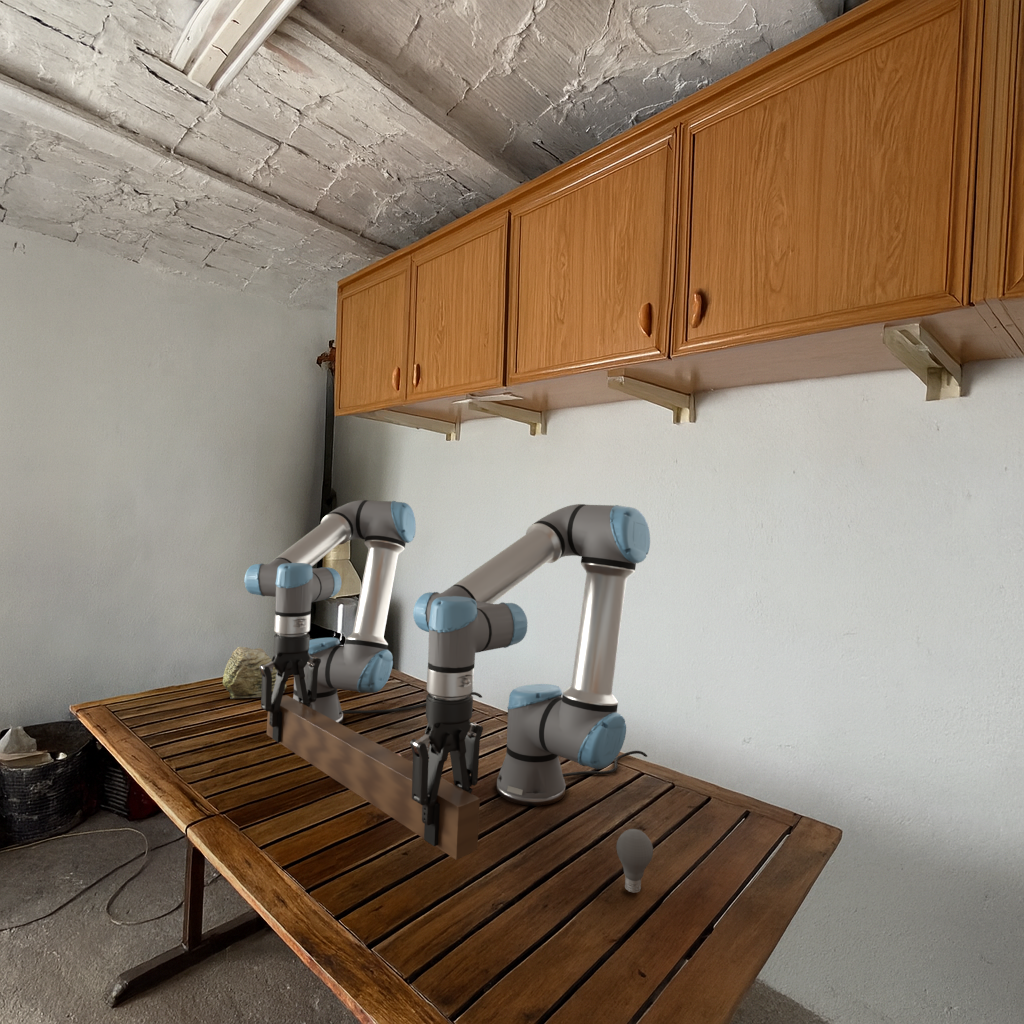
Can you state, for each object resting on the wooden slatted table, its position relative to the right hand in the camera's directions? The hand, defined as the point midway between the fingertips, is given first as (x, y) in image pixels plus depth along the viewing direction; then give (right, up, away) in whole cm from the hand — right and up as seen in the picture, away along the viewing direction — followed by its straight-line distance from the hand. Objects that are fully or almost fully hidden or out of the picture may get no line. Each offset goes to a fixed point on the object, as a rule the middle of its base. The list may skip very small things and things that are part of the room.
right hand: (443, 836), depth 103 cm
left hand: (-39, +2, +38) cm, 55 cm away
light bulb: (+31, -11, +3) cm, 33 cm away
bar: (-19, +1, +19) cm, 27 cm away
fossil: (-70, -5, +95) cm, 118 cm away
